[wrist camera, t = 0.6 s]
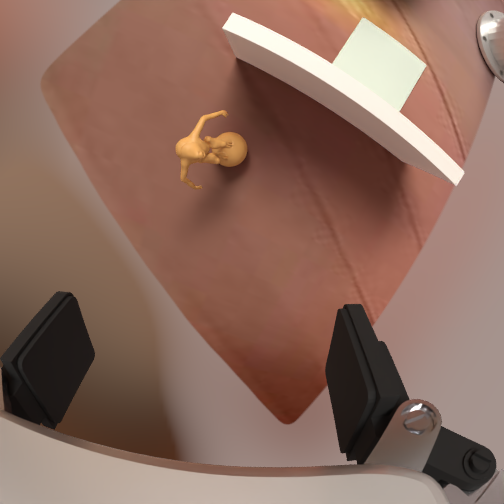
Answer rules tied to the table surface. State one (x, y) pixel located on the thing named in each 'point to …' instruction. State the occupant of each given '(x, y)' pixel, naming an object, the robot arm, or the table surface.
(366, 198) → the table surface
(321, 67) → the screen
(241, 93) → the table surface
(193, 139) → the figurine
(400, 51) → the mat
